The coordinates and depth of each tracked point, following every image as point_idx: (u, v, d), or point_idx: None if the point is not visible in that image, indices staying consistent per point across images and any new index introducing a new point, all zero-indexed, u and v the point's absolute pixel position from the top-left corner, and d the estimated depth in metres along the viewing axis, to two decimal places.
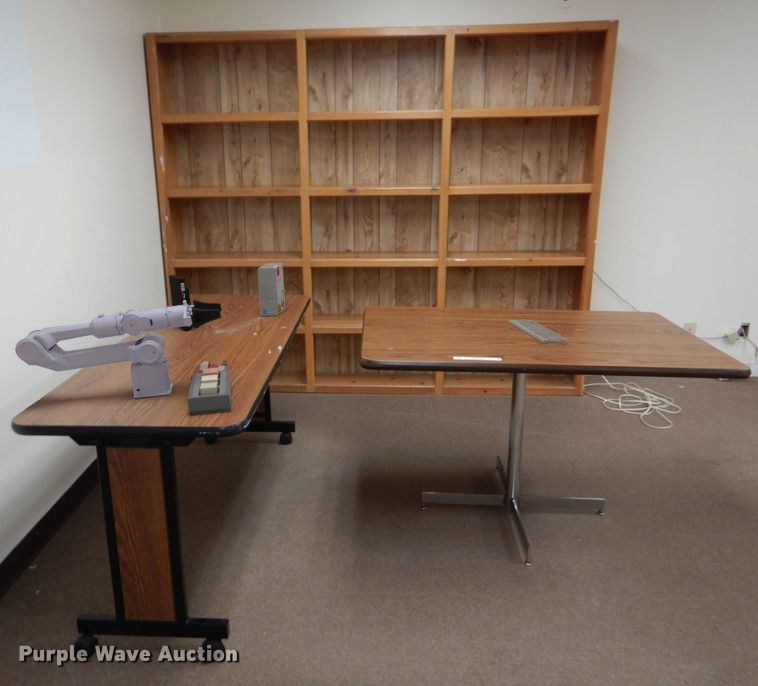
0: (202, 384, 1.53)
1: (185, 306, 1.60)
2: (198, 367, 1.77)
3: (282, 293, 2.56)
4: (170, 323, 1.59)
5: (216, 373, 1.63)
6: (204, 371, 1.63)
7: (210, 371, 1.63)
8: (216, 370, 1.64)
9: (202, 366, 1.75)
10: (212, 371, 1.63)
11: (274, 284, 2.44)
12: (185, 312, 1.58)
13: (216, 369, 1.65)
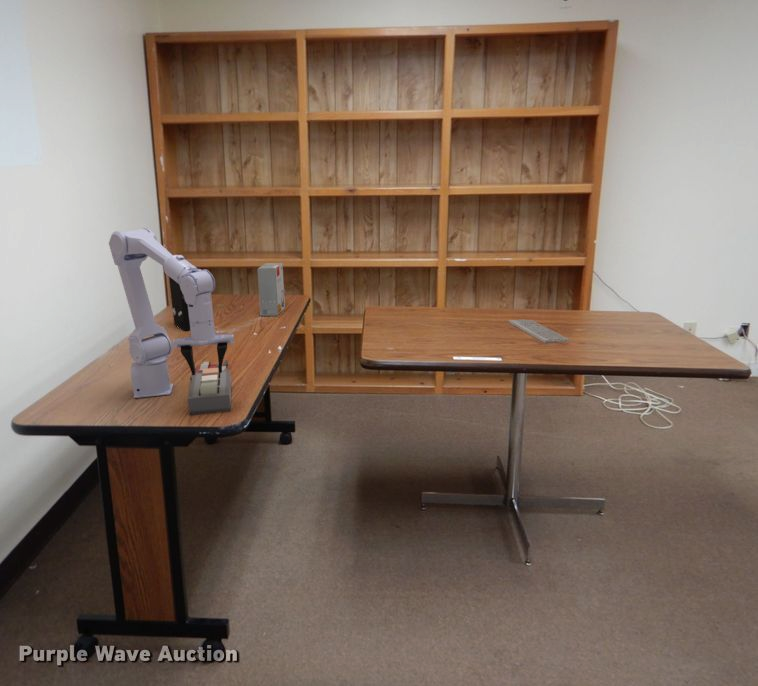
0: (202, 384, 1.53)
1: (196, 342, 1.46)
2: (199, 367, 1.77)
3: (282, 293, 2.56)
4: None
5: (216, 373, 1.63)
6: (204, 371, 1.63)
7: (210, 371, 1.63)
8: (216, 370, 1.64)
9: (202, 366, 1.74)
10: (212, 371, 1.63)
11: (274, 284, 2.44)
12: (185, 342, 1.47)
13: (216, 369, 1.65)
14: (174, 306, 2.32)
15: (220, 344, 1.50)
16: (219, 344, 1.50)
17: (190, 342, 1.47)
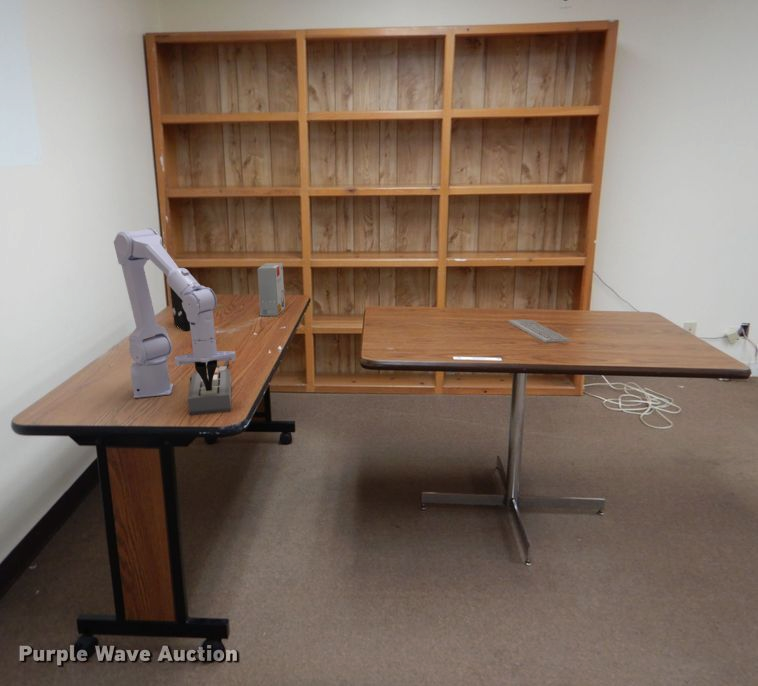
0: (202, 388, 1.54)
1: (198, 360, 1.48)
2: None
3: (282, 293, 2.56)
4: None
5: (216, 373, 1.63)
6: None
7: None
8: (216, 370, 1.64)
9: None
10: None
11: (274, 284, 2.44)
12: (187, 360, 1.48)
13: (216, 369, 1.65)
14: (174, 306, 2.32)
15: None
16: None
17: (192, 359, 1.48)
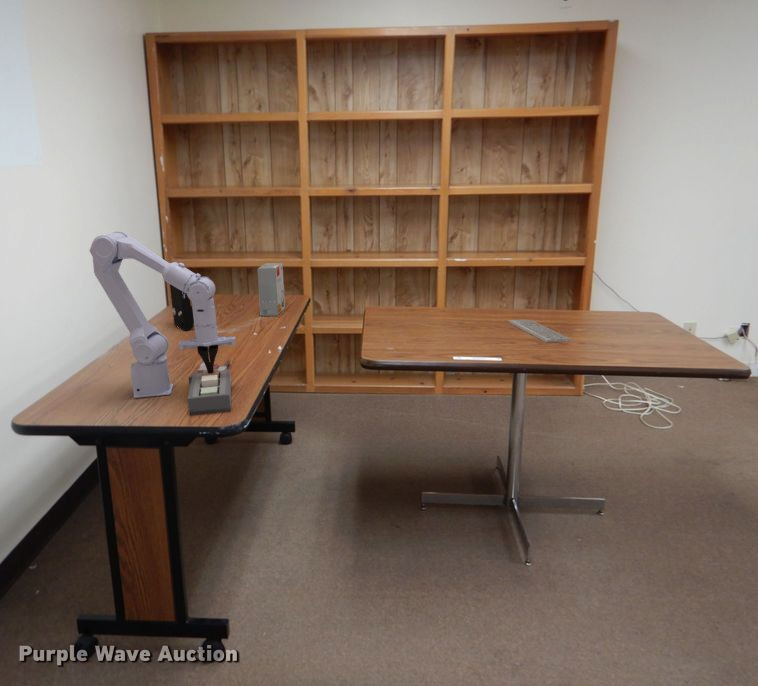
0: (202, 389, 1.54)
1: (201, 344, 1.59)
2: (199, 367, 1.78)
3: (282, 293, 2.56)
4: None
5: (216, 374, 1.63)
6: (204, 372, 1.63)
7: None
8: (216, 372, 1.64)
9: (202, 366, 1.75)
10: None
11: (274, 284, 2.44)
12: (190, 344, 1.59)
13: (216, 370, 1.65)
14: (174, 306, 2.32)
15: None
16: None
17: (195, 344, 1.59)
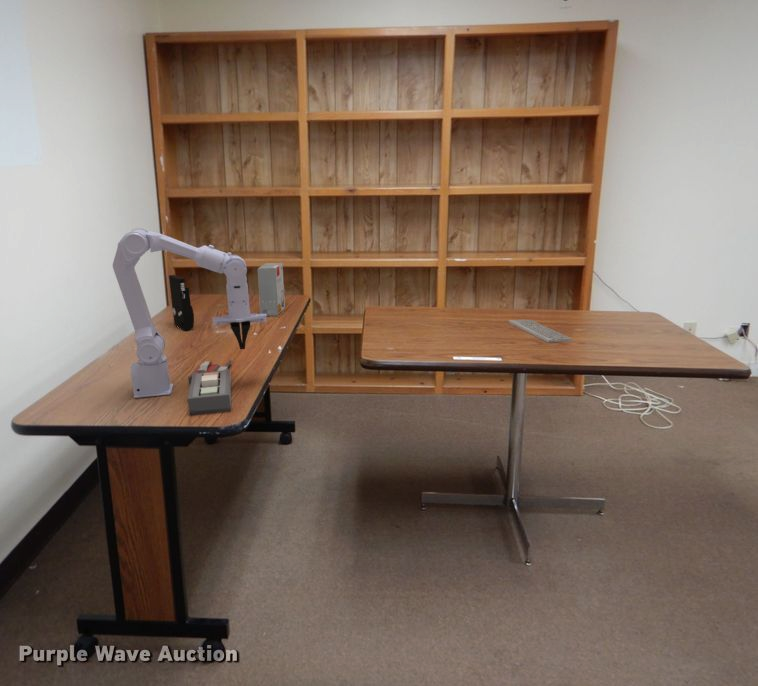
0: (202, 389, 1.54)
1: (234, 320, 1.63)
2: (199, 367, 1.78)
3: (282, 293, 2.56)
4: None
5: None
6: (204, 375, 1.64)
7: None
8: None
9: (202, 366, 1.75)
10: None
11: (274, 284, 2.44)
12: (224, 320, 1.63)
13: (216, 373, 1.65)
14: (174, 306, 2.32)
15: None
16: None
17: (228, 320, 1.63)
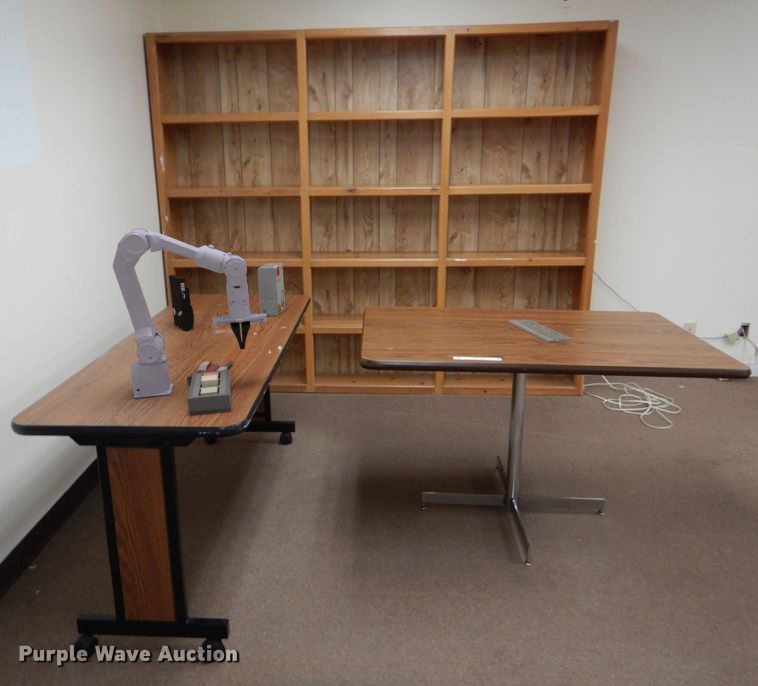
0: (202, 389, 1.54)
1: (234, 320, 1.63)
2: (199, 367, 1.78)
3: (282, 293, 2.56)
4: None
5: None
6: (204, 375, 1.64)
7: None
8: None
9: (201, 366, 1.75)
10: None
11: (274, 284, 2.44)
12: (224, 320, 1.63)
13: (216, 373, 1.65)
14: (174, 306, 2.32)
15: None
16: None
17: (228, 320, 1.63)
